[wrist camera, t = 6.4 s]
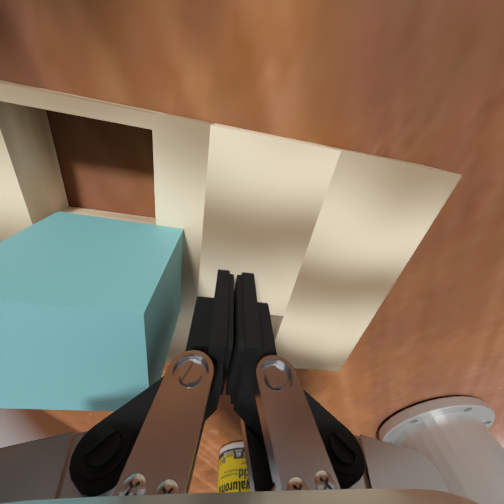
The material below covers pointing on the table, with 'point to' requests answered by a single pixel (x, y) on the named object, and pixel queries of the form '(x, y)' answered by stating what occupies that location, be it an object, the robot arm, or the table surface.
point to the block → (86, 311)
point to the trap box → (246, 214)
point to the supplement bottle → (233, 469)
